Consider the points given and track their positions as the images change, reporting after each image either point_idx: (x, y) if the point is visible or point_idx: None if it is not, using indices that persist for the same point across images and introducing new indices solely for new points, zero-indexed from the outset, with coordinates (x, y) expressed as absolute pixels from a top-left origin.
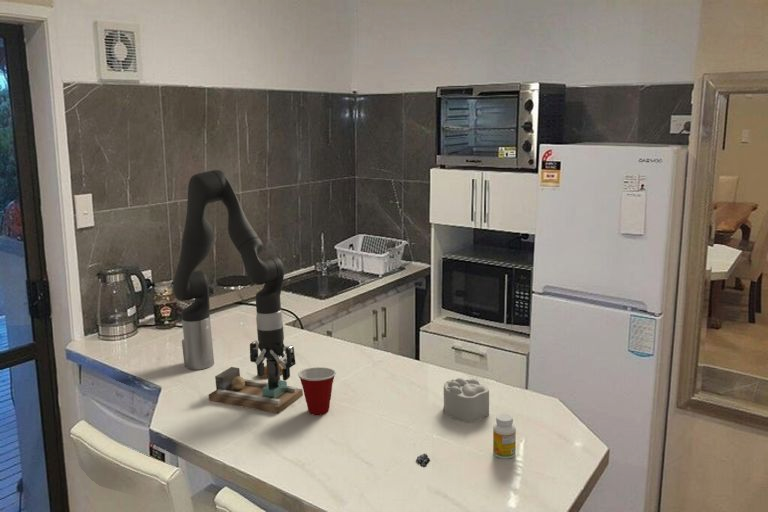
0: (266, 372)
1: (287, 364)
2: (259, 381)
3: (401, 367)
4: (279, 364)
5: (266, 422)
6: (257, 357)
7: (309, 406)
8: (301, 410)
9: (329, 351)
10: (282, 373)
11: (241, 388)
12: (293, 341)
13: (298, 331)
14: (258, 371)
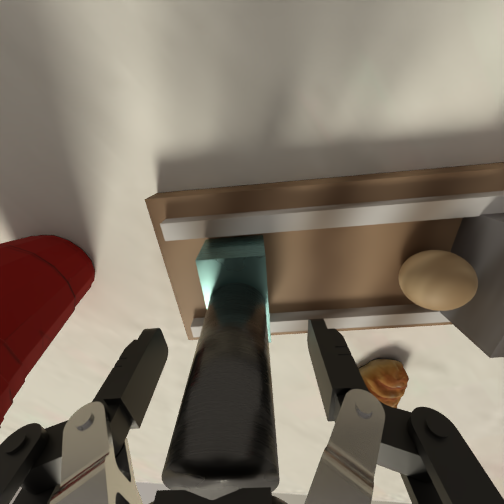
0: (374, 380)
1: (27, 456)
2: (355, 327)
3: None
4: None
5: (135, 95)
6: (401, 469)
7: (23, 244)
8: (112, 246)
9: (296, 471)
10: None
11: (402, 265)
12: (397, 479)
13: (408, 500)
14: (330, 341)
